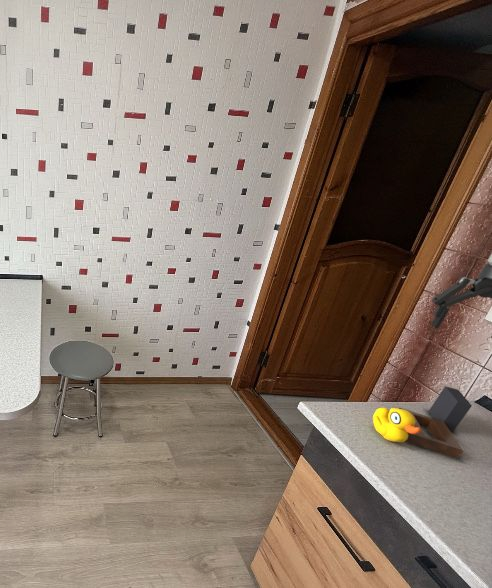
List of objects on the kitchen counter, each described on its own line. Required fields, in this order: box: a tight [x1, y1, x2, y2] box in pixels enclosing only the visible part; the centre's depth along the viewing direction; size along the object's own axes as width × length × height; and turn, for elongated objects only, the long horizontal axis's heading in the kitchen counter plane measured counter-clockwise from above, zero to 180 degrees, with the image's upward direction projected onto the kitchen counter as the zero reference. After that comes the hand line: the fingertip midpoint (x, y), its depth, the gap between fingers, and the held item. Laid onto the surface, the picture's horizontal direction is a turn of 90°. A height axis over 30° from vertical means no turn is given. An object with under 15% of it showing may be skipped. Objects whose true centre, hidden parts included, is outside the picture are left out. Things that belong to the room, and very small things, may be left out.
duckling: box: [372, 407, 421, 443], centre depth 89 cm, size 11×5×10 cm, turn 175°
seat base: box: [398, 407, 464, 460], centre depth 93 cm, size 10×12×3 cm
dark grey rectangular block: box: [428, 385, 473, 433], centre depth 97 cm, size 3×8×10 cm, turn 152°
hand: (463, 332), depth 100 cm, fingers open, 13 cm apart
